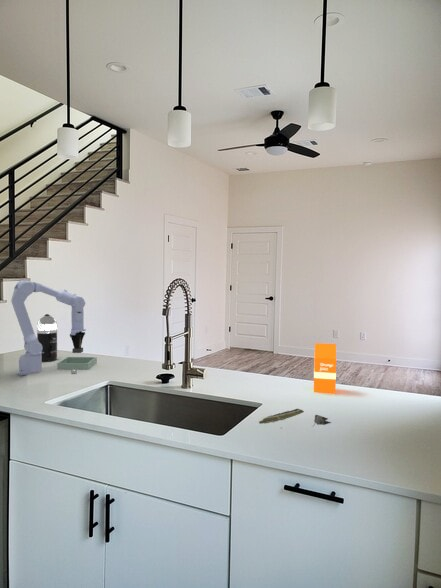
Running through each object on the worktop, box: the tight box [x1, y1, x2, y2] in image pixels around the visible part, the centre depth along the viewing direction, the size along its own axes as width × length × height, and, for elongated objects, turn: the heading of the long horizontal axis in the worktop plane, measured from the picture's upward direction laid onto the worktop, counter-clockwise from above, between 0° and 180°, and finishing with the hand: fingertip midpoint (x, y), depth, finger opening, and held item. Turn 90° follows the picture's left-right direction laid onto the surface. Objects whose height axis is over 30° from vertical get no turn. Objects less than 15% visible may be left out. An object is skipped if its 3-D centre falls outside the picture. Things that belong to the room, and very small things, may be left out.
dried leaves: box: [257, 408, 332, 429], centre depth 141 cm, size 25×19×2 cm
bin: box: [56, 356, 98, 371], centre depth 213 cm, size 15×15×4 cm
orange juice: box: [313, 342, 337, 394], centre depth 179 cm, size 8×9×20 cm
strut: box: [71, 339, 84, 354], centre depth 213 cm, size 4×4×7 cm
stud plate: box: [70, 369, 78, 375], centre depth 198 cm, size 10×10×3 cm
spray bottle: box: [36, 313, 58, 362], centre depth 230 cm, size 10×10×25 cm
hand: (77, 347), depth 213 cm, fingers closed on strut, 3 cm apart
